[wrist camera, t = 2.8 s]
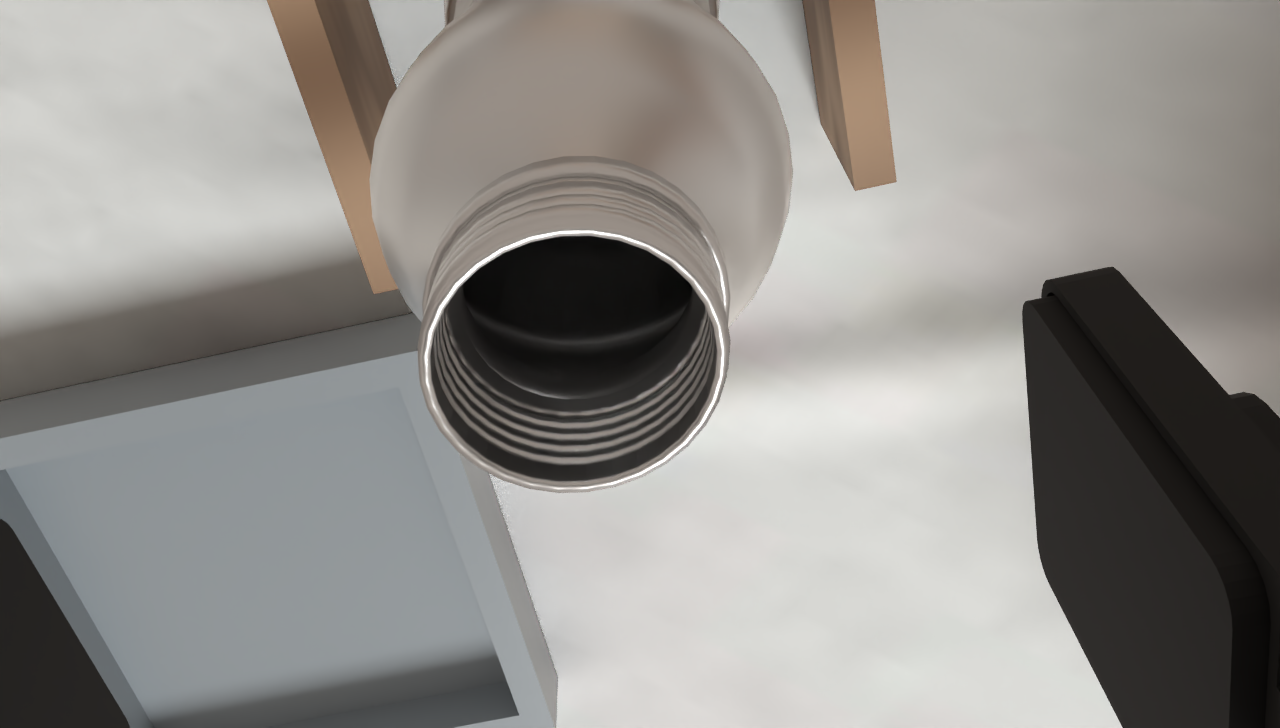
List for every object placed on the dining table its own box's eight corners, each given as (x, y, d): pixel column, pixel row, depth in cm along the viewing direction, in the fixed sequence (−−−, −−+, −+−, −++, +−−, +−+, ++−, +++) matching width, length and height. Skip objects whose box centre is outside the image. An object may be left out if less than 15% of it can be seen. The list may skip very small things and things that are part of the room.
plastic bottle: (401, -28, 31) (159, 342, 14) (605, -210, 29) (624, -47, 12) (564, 158, 34) (533, 669, 16) (762, 3, 32) (965, 392, 14)
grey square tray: (557, 678, 43) (556, 731, 41) (156, 753, 44) (133, 808, 42) (432, 308, 36) (422, 349, 34) (-44, 410, 37) (-83, 456, 35)
